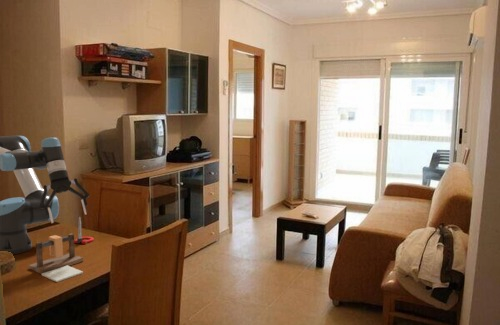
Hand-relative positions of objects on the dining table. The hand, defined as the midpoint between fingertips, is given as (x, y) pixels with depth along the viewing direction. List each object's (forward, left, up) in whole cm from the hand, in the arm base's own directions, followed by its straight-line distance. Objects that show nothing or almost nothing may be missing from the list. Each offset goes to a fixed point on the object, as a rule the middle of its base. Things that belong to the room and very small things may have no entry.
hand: (69, 218), depth 186 cm
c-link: (+3, -8, -14) cm, 16 cm away
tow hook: (-16, +17, -18) cm, 29 cm away
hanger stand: (+3, -8, -18) cm, 20 cm away
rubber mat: (+14, -12, -18) cm, 26 cm away
